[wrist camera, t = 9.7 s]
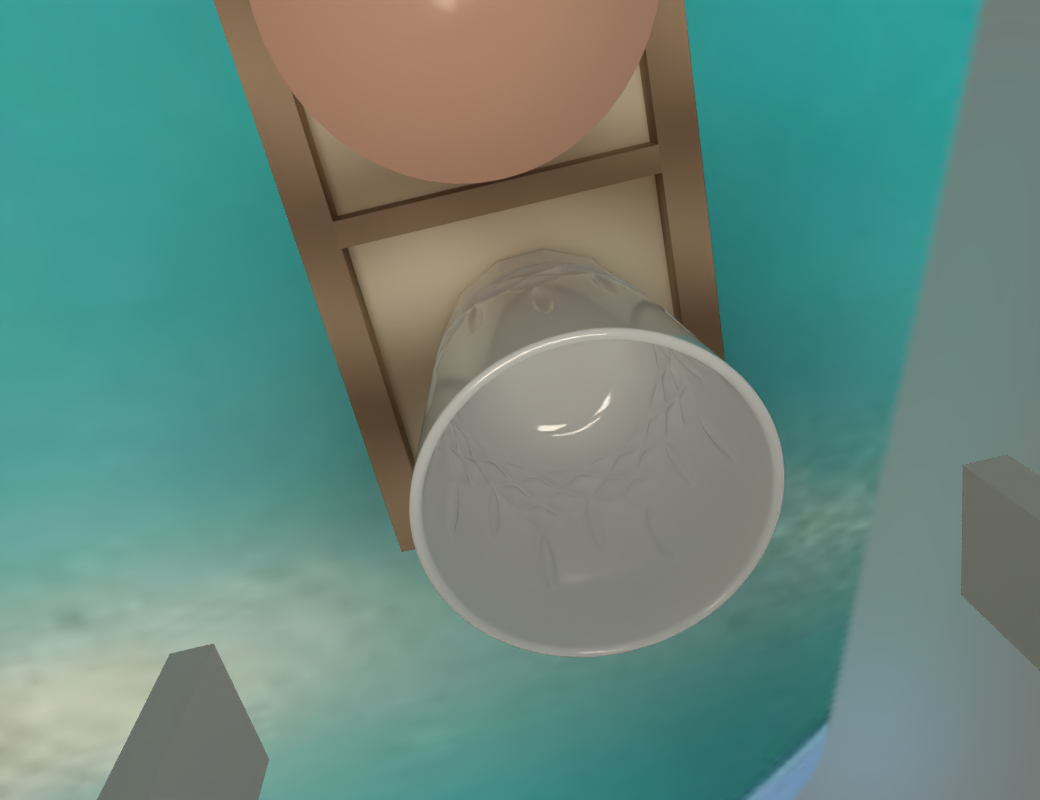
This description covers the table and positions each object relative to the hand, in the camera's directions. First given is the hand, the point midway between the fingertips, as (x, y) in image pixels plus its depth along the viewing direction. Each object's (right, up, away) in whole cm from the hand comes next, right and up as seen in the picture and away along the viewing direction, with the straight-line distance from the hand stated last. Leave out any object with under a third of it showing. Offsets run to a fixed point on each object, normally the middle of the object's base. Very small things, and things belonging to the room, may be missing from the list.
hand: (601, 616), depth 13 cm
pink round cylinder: (-3, +15, +7) cm, 17 cm away
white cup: (-1, +5, +12) cm, 13 cm away
